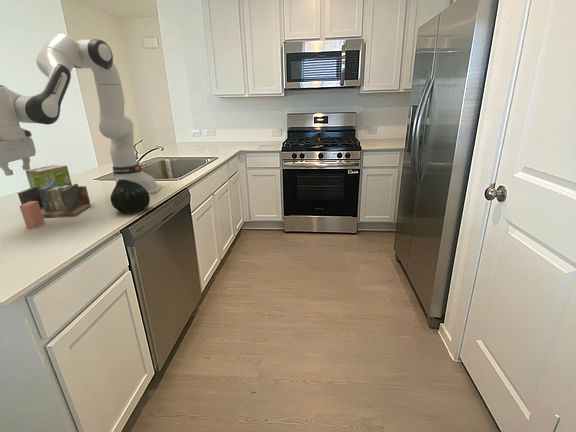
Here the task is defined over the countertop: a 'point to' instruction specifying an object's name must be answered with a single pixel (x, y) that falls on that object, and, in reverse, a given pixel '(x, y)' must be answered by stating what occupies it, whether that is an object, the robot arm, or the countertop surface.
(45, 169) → the tea box
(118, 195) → the squash
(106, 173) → the countertop surface
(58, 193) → the rack
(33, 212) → the terracotta rectangular block
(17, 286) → the countertop surface
